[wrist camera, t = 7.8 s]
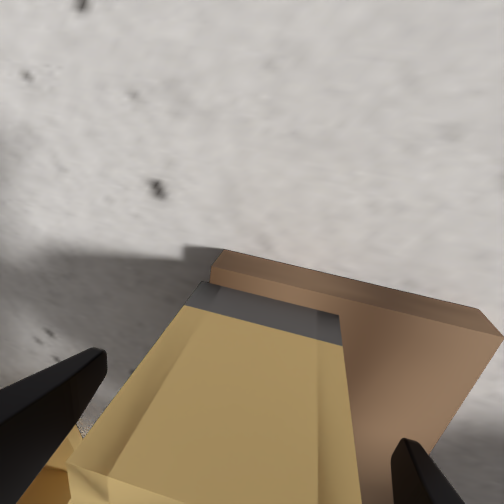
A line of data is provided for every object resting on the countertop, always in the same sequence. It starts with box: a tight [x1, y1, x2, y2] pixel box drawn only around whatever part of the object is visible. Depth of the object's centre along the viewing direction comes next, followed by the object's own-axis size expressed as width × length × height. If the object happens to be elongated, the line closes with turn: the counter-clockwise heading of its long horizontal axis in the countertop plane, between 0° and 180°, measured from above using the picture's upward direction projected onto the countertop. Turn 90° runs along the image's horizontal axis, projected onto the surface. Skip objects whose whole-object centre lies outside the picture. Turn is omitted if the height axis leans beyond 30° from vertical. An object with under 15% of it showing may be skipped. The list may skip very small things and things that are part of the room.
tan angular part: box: [16, 424, 83, 504], centre depth 16 cm, size 5×5×6 cm
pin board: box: [209, 249, 504, 504], centre depth 12 cm, size 9×17×6 cm, turn 171°
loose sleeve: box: [66, 281, 362, 504], centre depth 8 cm, size 5×5×6 cm
